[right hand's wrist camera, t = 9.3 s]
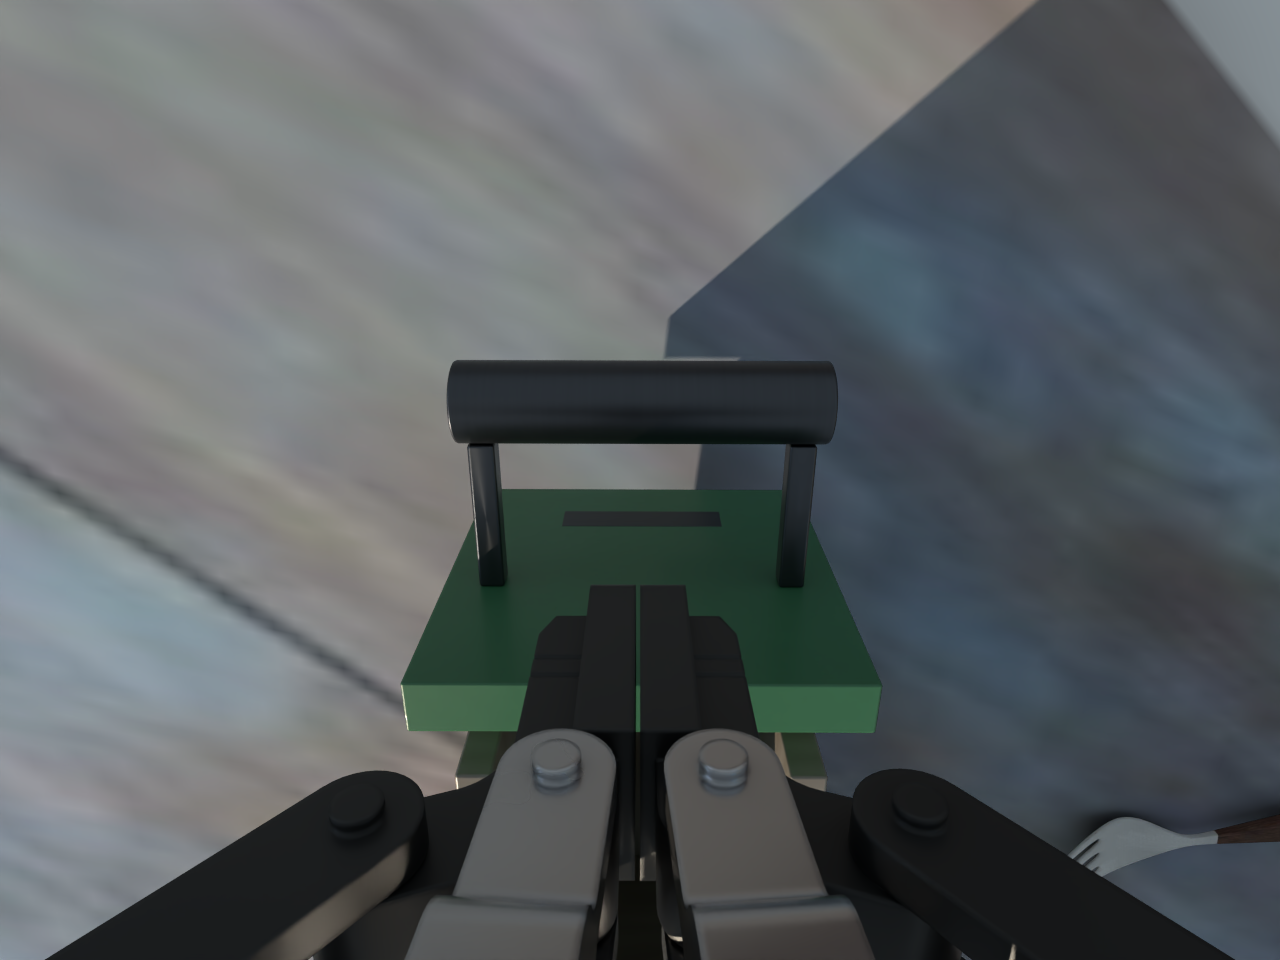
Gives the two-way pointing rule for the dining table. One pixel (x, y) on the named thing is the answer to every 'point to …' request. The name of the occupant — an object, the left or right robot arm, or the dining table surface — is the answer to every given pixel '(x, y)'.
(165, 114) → the dining table surface
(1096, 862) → the fork
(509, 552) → the drawer
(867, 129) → the dining table surface
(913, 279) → the dining table surface
